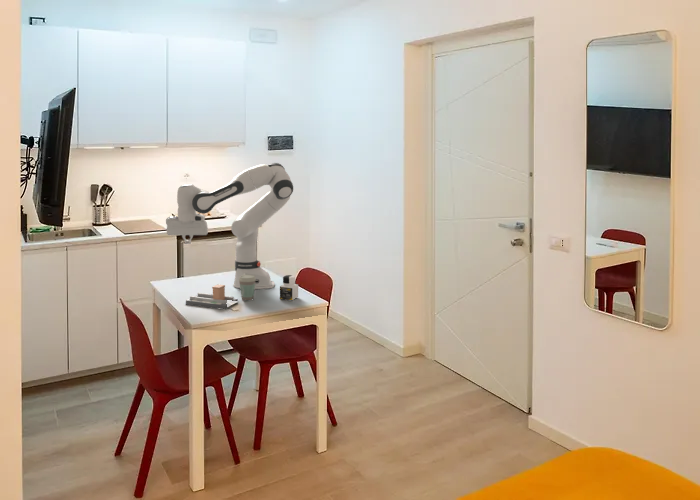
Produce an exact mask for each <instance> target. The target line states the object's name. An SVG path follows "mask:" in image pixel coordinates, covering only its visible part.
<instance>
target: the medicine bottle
mask: <svg viewBox="0 0 700 500" xmlns="http://www.w3.org/2000/svg"><path fill="white" fill-rule="evenodd" d="M297 297H298V298H299V284H296V276H294V275H291V274H287V275H284V276H283V277H282V285H280V286H279V299H285V300H284V301H287V300H293V299H295V298H297ZM298 298H297V299H298ZM295 300H296V299H295ZM293 301H294V300H293Z"/></svg>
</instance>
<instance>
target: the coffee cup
mask: <svg viewBox="0 0 700 500" xmlns="http://www.w3.org/2000/svg"><path fill="white" fill-rule="evenodd" d="M255 280H256V278H255V276H254V275H241V276H240V277H239V282H240V288H239V289H240V295H241V296H240V297H241V300H242V301H244V300H250V301H253V300H254V297H255V296H254V294H255V289H254V288H255ZM252 299H253V300H252Z"/></svg>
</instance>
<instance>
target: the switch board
mask: <svg viewBox="0 0 700 500" xmlns="http://www.w3.org/2000/svg"><path fill="white" fill-rule="evenodd" d="M238 299H239V298H235V297H234V296H229V295H225V300H219V299H213V293H212V294H211V293H205V292H197V295H195V296H193V295H190V296H189V298H188V299H185V305H189V306H195V305H196V307H203V306H204V307H205V308H210V307H212V308H211V309H218V308H220V310H227V309H228V308H227V304H226V303H227V300H232V301H239V300H238ZM226 308H227V309H226Z"/></svg>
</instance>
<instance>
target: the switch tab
mask: <svg viewBox="0 0 700 500" xmlns="http://www.w3.org/2000/svg"><path fill="white" fill-rule="evenodd" d="M211 288H212V294H213V299H219V300H225V296H226V292H225V290H226V289H225V288H226V285H225V284H219V283H218V284H216V285H213V286H212V287H211Z"/></svg>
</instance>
